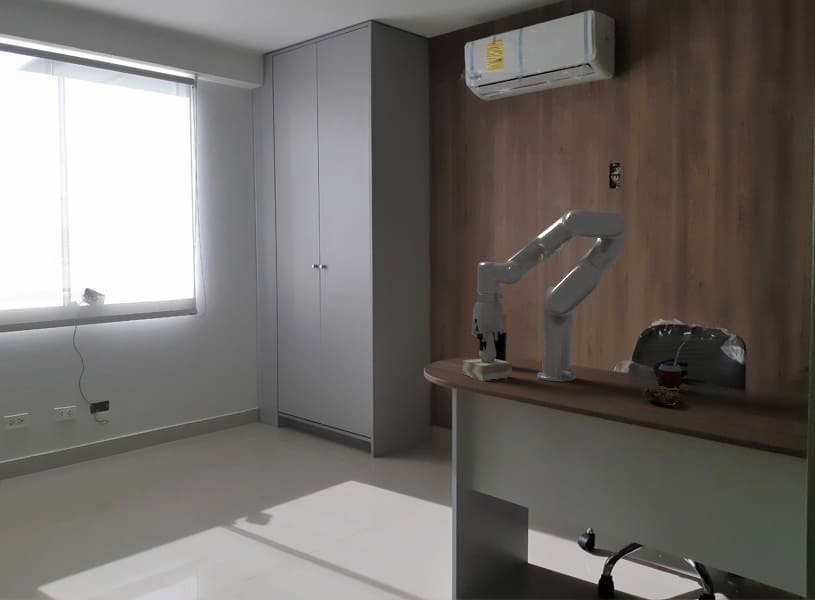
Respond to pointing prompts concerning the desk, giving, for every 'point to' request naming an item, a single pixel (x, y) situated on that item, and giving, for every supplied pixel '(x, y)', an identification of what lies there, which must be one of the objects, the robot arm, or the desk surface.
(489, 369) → the maple block
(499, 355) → the battery
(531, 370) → the desk surface
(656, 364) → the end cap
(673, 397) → the concrete sample
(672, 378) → the mate gourd
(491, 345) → the salt shaker
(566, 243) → the robot arm
